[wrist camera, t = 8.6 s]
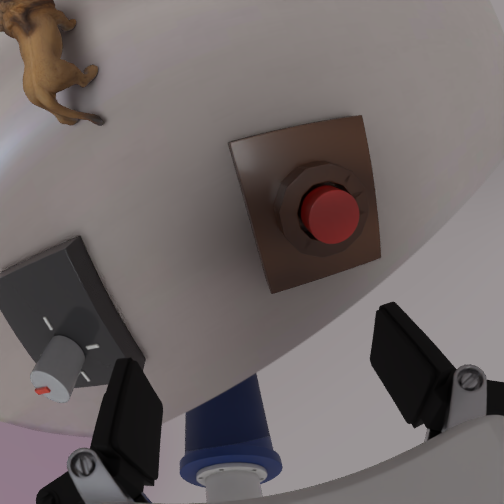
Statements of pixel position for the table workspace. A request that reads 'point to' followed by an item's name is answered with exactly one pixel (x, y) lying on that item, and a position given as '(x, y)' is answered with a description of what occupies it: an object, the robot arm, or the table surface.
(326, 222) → the button
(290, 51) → the table surface
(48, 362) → the knob
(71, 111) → the lion figurine
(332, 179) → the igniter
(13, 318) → the dark grey dial base
